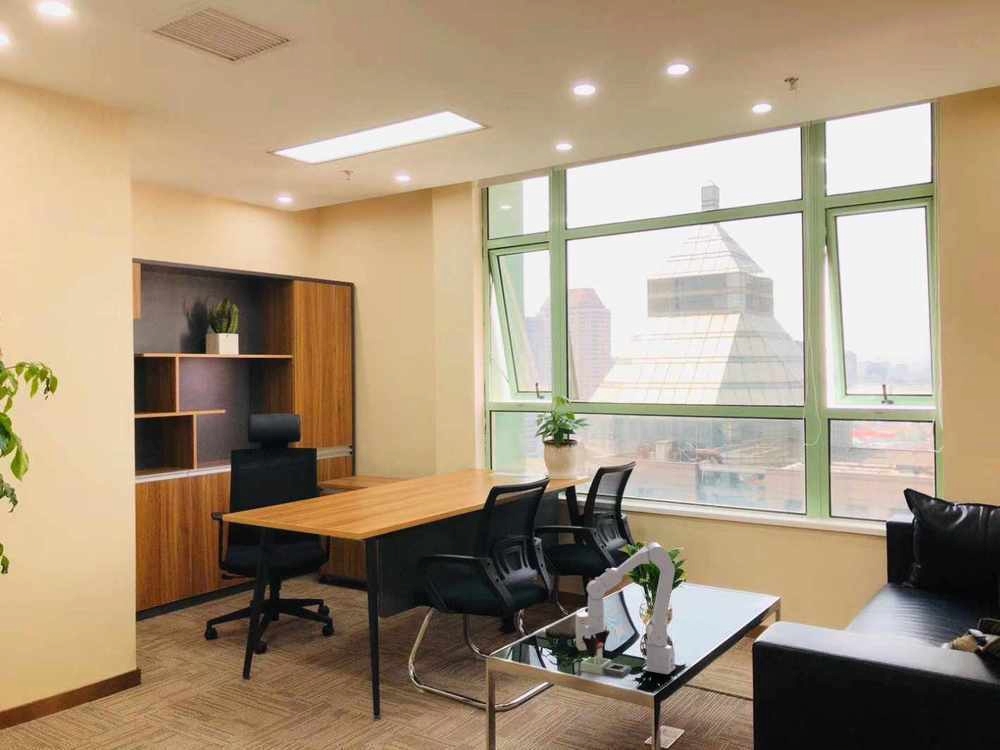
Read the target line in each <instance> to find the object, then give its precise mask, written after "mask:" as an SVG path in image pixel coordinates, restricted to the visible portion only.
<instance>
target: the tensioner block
mask: <svg viewBox="0 0 1000 750" xmlns="http://www.w3.org/2000/svg"><path fill="white" fill-rule="evenodd" d="M629 673H631V665H625V664H620V663H616V662H615V663H614V662H611V664H610V665H608V666H607V667H605V668H604V673H603V675H606V676H612V677H615V678H616V677H617V678H624V677H626V676H627V675H628V674H629Z"/></svg>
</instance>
